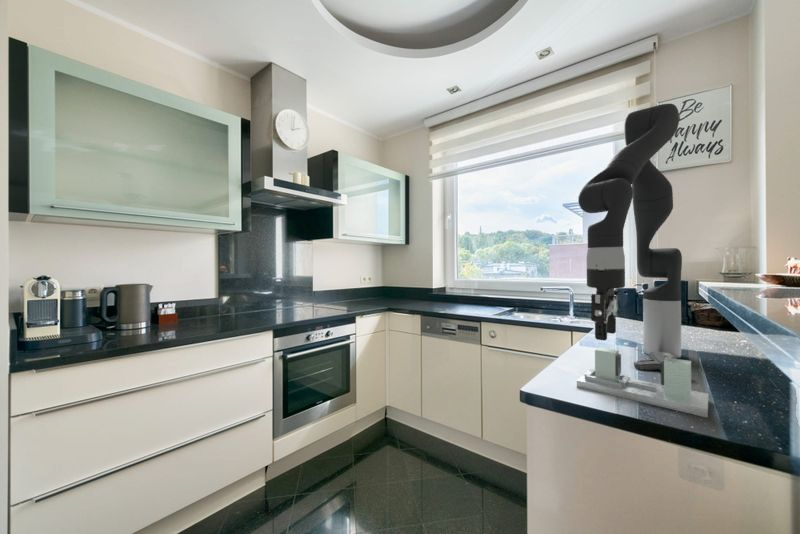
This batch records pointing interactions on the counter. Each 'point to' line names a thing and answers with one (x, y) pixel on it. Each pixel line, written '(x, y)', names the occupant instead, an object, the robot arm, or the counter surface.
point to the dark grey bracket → (653, 361)
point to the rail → (655, 388)
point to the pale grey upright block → (607, 363)
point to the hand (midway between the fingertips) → (605, 336)
